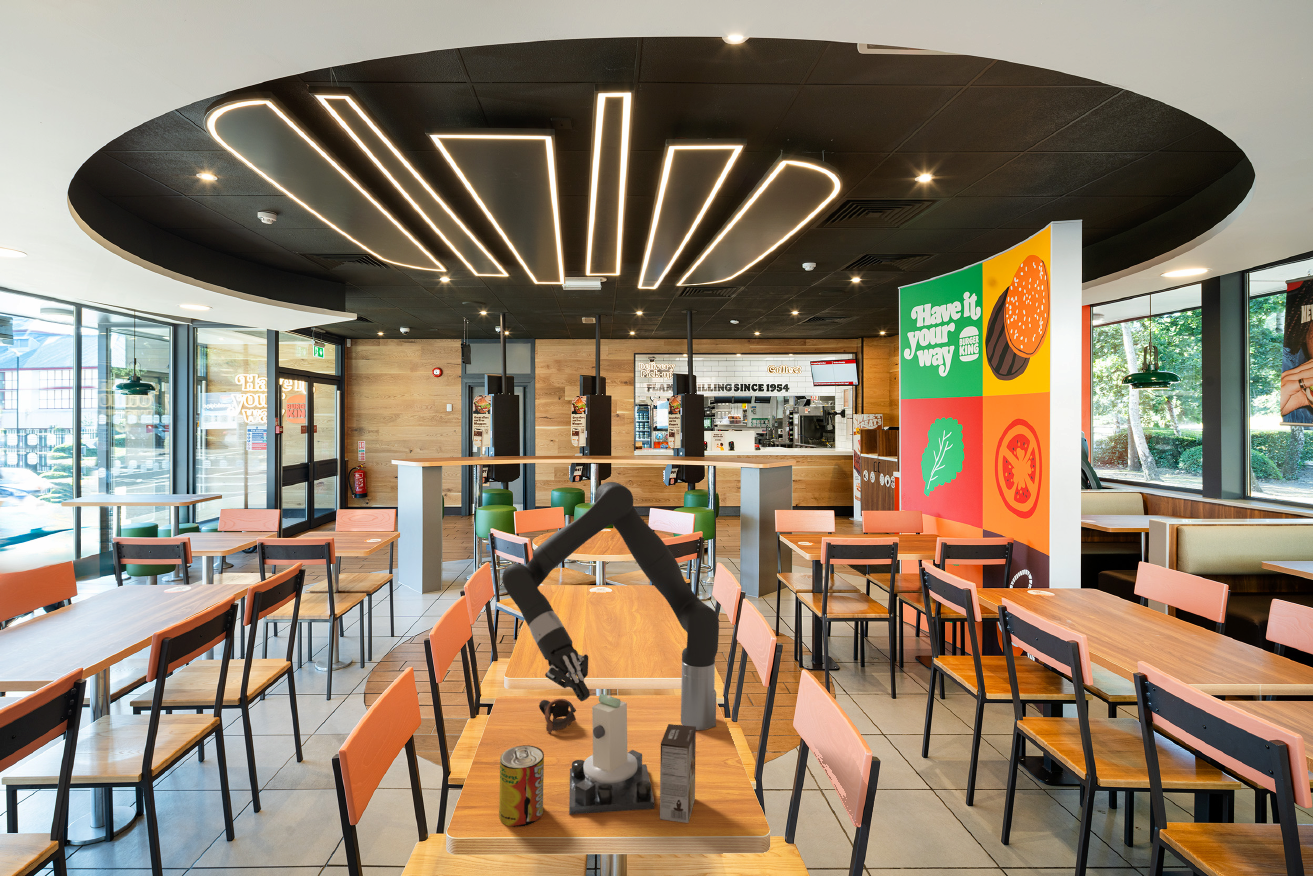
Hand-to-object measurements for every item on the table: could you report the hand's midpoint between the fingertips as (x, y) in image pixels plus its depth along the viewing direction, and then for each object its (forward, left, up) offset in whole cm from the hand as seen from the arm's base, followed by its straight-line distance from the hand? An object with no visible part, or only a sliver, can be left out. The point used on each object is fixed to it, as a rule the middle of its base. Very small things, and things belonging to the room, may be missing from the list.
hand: (585, 698), depth 140 cm
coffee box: (-20, +14, -19) cm, 30 cm away
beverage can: (+13, +12, -19) cm, 26 cm away
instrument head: (-6, +6, -14) cm, 16 cm away
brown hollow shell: (+7, -27, -19) cm, 34 cm away
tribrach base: (-6, +6, -19) cm, 20 cm away
